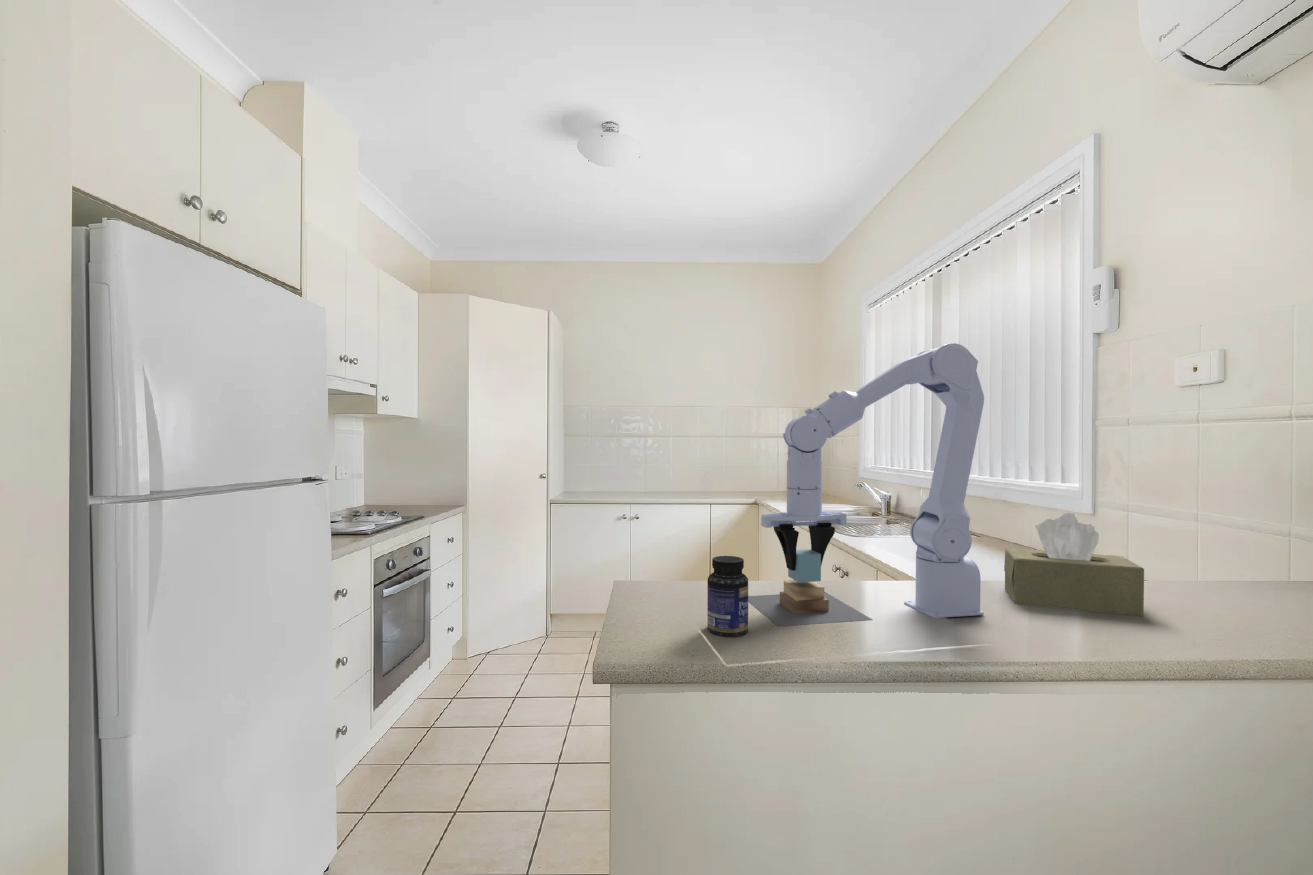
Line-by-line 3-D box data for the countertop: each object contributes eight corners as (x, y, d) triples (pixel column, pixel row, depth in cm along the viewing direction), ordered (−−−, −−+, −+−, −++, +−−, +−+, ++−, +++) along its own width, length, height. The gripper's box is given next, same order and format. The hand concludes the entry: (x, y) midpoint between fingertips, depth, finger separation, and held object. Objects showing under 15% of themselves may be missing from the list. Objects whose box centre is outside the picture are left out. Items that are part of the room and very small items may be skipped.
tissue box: (1124, 601, 104) (1125, 512, 104) (1146, 617, 95) (1147, 520, 95) (1002, 590, 111) (1003, 507, 111) (1012, 604, 102) (1013, 514, 102)
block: (809, 575, 101) (810, 549, 101) (820, 581, 97) (820, 554, 97) (788, 576, 100) (788, 550, 100) (798, 582, 96) (798, 555, 96)
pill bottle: (747, 640, 84) (747, 564, 84) (705, 637, 85) (705, 562, 85) (749, 626, 90) (749, 555, 90) (709, 623, 91) (709, 553, 91)
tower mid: (810, 590, 101) (810, 579, 101) (824, 599, 97) (824, 587, 97) (783, 592, 101) (783, 580, 100) (796, 600, 96) (796, 588, 96)
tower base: (811, 601, 102) (812, 589, 102) (828, 611, 96) (828, 599, 96) (779, 603, 101) (779, 591, 101) (794, 614, 95) (794, 601, 95)
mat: (824, 593, 108) (824, 591, 108) (872, 621, 92) (872, 619, 92) (742, 598, 105) (742, 596, 105) (777, 628, 89) (777, 626, 89)
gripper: (832, 484, 104) (831, 561, 104) (754, 486, 101) (754, 564, 101) (853, 489, 97) (852, 570, 97) (770, 490, 94) (770, 574, 94)
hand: (803, 568), depth 98 cm, fingers closed on block, 4 cm apart
